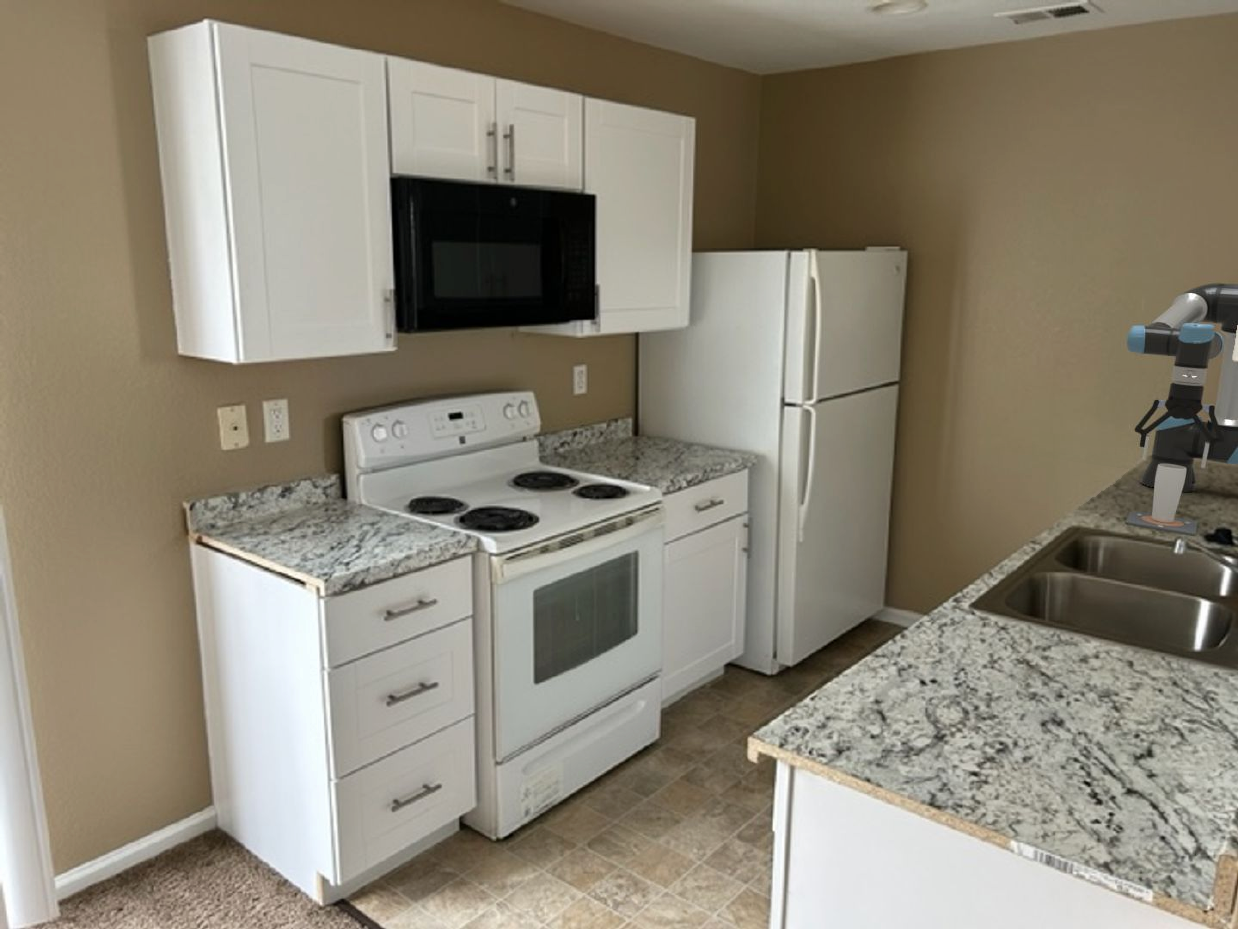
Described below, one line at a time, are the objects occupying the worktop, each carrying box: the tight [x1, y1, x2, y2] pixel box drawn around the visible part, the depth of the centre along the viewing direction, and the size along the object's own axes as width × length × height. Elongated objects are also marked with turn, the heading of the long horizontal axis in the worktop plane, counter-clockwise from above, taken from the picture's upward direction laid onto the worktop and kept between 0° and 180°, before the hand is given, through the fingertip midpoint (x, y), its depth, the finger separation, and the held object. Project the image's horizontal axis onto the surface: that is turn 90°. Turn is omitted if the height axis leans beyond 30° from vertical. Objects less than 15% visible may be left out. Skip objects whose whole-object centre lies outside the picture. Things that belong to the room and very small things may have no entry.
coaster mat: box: [1124, 510, 1199, 537], centre depth 249 cm, size 16×16×1 cm
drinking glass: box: [1151, 464, 1187, 523], centre depth 247 cm, size 7×7×15 cm
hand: (1172, 463), depth 245 cm, fingers open, 13 cm apart
